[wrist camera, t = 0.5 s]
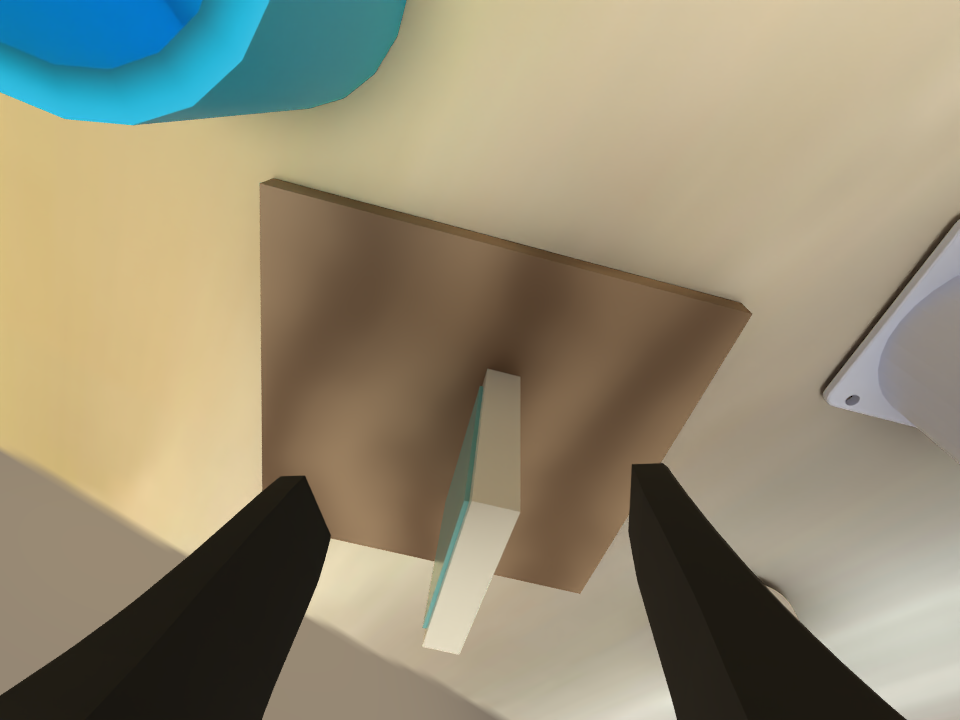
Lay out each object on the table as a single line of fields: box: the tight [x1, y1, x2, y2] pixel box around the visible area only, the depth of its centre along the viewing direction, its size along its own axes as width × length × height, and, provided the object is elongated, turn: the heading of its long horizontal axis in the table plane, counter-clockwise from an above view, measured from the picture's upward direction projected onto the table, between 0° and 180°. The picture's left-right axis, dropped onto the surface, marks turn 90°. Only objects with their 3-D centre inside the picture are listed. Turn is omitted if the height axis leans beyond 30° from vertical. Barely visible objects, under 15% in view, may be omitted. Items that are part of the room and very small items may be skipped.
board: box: [260, 179, 752, 594], centre depth 21 cm, size 18×18×1 cm
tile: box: [422, 369, 520, 654], centre depth 18 cm, size 2×8×7 cm, turn 166°
